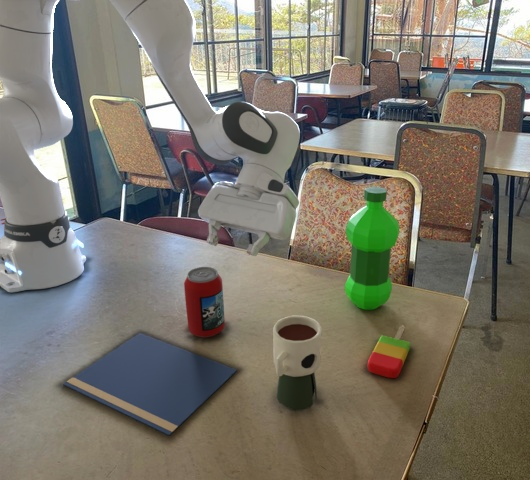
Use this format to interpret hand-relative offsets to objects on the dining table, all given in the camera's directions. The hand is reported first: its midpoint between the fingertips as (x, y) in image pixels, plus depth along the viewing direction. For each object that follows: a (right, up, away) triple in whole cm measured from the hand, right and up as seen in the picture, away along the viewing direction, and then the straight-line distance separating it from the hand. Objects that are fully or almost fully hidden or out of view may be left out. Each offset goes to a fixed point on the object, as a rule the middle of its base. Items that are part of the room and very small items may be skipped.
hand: (230, 249), depth 92 cm
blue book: (-10, -21, -14) cm, 27 cm away
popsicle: (+30, -18, -6) cm, 36 cm away
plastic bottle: (+27, -12, +9) cm, 31 cm away
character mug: (+14, -23, -18) cm, 32 cm away
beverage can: (-4, -15, -2) cm, 16 cm away
